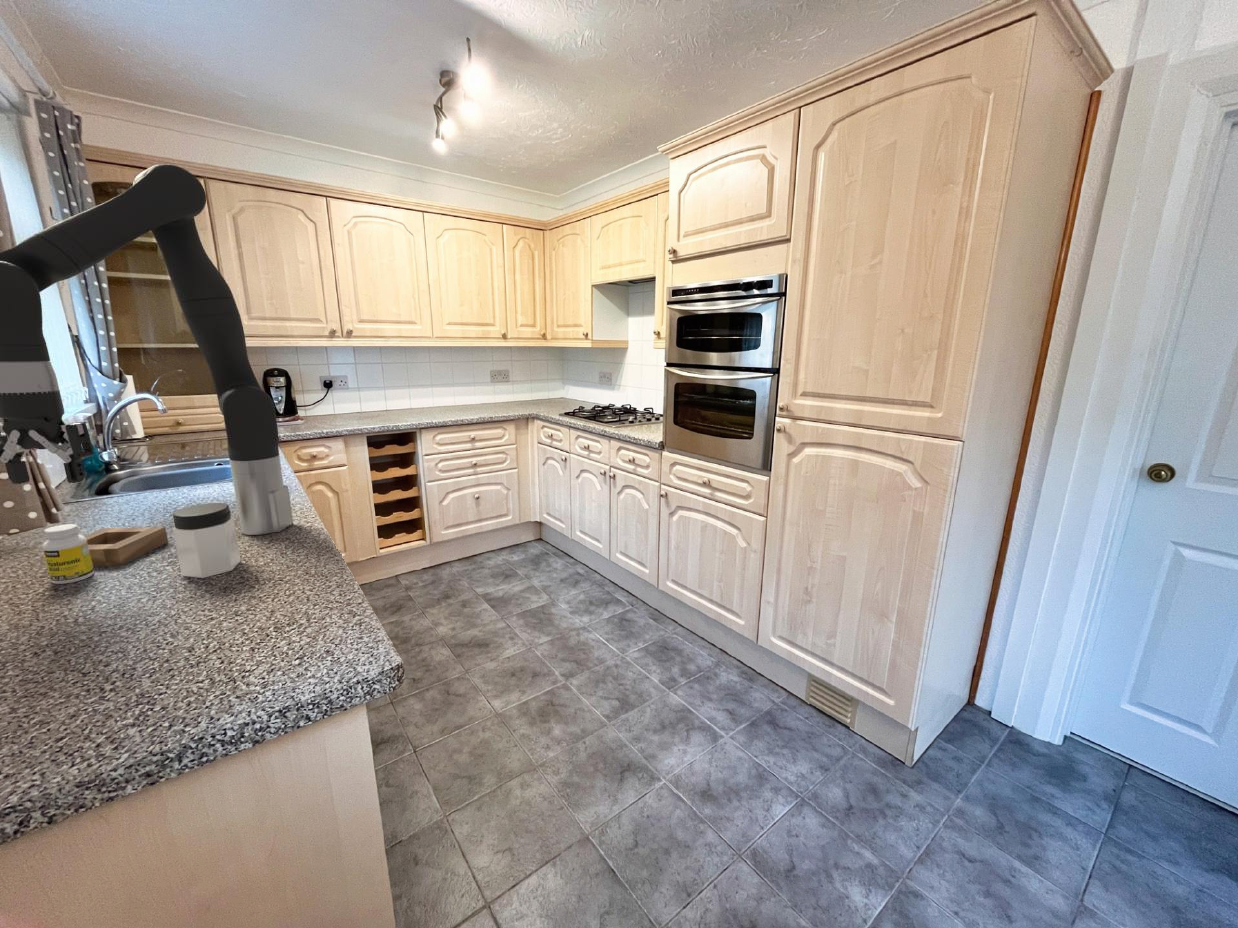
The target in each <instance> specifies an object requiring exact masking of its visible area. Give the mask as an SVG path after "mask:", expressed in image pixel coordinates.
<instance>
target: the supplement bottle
mask: <svg viewBox="0 0 1238 928" xmlns="http://www.w3.org/2000/svg"><path fill="white" fill-rule="evenodd" d="M43 532H44V535H45V537H46V539H47V540H46V541H45V542H44V543H43V544H42V552H43V555H44V558H45V559H44V560H45V564H46V567H47V571H48V575H49V579H50V581H51V583H53V584H56V585H64V584H65V585H66V584H71V583H76V582H79V581H82V580H83V581H84V580H85V579H88V578H90V577H92V576H93V575H94V573H95V569H94V566H93V564H92V560H91V556H90V552H89V547H88V543H87V539H86V538H85V537H84V536H85V535H82V534H79V532H80V531H79V526H78V524H75V523H74V524H73V523H69V524H68V523H67V524H59V525H55V526H51V527H47V528H46V529H44V531H43Z"/></svg>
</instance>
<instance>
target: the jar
mask: <svg viewBox="0 0 1238 928" xmlns="http://www.w3.org/2000/svg"><path fill="white" fill-rule="evenodd" d="M231 515H232V514H231V509H230V505H229V504H227V503H224V502H223V503H222V502H212V503H211V502H210V503H209V502H208V503H201V504H195V505H190V506H186V507H182V508H180V509H178V510H176V511H174V512H173V513H172V517H173V522H174V523H173V524H174V527H173V528H172V533H173V538H174V544H175V548H176V554H177V557H178V558H177V559H178V562H179V567H180V572H181V576H182V577H188V578H198V579H205V578H206V579H207V578H208V577H209V578H210V577H213V576H216V575H220V574H224V573H228V572H231V571H233V570H235V569H234V568H235V567H237V566H238V564H240V562H241V555H240V549H239V543H238V537H237V533H236V526H235V521H234V517H233V516H231Z"/></svg>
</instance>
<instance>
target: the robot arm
mask: <svg viewBox="0 0 1238 928" xmlns="http://www.w3.org/2000/svg"><path fill="white" fill-rule="evenodd" d="M206 204H207V194H206V191H205V188H204V186H203V184H202V182H201V181H200V180H199V179H198V178H197V177H196V176H195V175H194V174H193V173H192V172H190V171H189V170H187V169H185V168H183V167H180V166H178V165H174V164H168V163H167V164H166V163H162V164H154V165H152V166H150V167H148V168H146V169H145V170H143V171H142V172H140V173H139V174H138V175H137V176H136V177H134V180H133V182H132V186H130V187H129V188H127V189H126V190H124V191H123V192H122V193H120V194H118V195H116V196H115V197H112V198H111V199H109V200H106V201H105V202H103V203H101V204H99V205H95V206H94V207H91V208H90V209H87V210H84V211H82V212H80V213H77V214H75V215H72V216H69V217H68V218H66V219H63V220H61V221H59V222H57V223H55V224H52V225H51V226H48V227H47V228H44V229H43V230H41V231H38V232H37V233H35V234H33V235H30V236H29V237H28V238H26V239H24V240H23V241H21V242H20V243H18V244H17V245H15V246H13V247H11V248H8V249H6V250H2V251H0V419H1V420H3V422H0V462H2V464H4V465H5V469H6V472H7V476H8V479H9V480H10V481H11V483H12V484H14V485H20V484H25V483H29V481H30V479H31V478H30V475H29V471H28V467H27V464H26V461H25V460H23V459H24V457H25V456H26V455H27V453H28V452H29V451H31V450H33V449H36V450H47V451H49V452H50V454H55V455H56V456H58V457H59V458H60V459H61V460H62V461H63V463H62V464H63V468H64V472H65V475H66V480H67V482H68V484H76V483H80V482H83V481H84V480H85V477H86V472H85V467H84V464H83V460H84V459H85V458H89V457H93V456H94V455H95V450H94V446H93V444H92V440H91V436H90V434H89V431H88V427H87V424H86V423H85V422H76V423H70V424H66V423H65V422H64V421H63V416H64V414H65V408H64V404H63V400H62V396H61V391H60V388H59V387H60V386H59V383H58V379H57V375H56V372H55V370H54V367H53V366H52V362H51V358H50V354H49V348H48V345H47V342H46V339H45V336H44V331H43V308H42V307H43V305H42V298H41V292H43V291H44V290H46V289H47V288H49V287H51V286H52V285H55V284H57V283H59V282H61V281H65V280H69V279H71V278H73V277H76V276H78V275H80V274H81V273H83V272H85V271H86V270H89V269H90V268H92V267H93V266H95V265H97V264H98V263H100V262H102V261H104V260H105V259H107V258H108V257H110V256H112V255H113V254H114V253H115V254H116V252H118V251H119V250H120V249H122V248H124V247H126V246H127V245H129V244H130V243H131V242H133V241H135V240H136V239H138V238H140V237H142V236H143V235H146V234H147V233H149V232H151V234H152V235H153V237H154V239H155V241H156V243H157V245H158V248H159V251H160V253H161V256H162V258H163V261H164V264H165V267H166V270H167V273H168V276H169V279H170V281H171V284H172V286H173V288H174V293H175V295H176V298H177V301H178V303H179V306H180V309H181V312H182V315H183V316H184V319H185V321H186V324H187V325H188V328H189V330H190V331H191V334H192V336H193V338H194V340H195V343H196V345H197V346H198V348H199V350H200V353H202V356H203V357H204V360H205V361H206V363H207V365H208V368H209V370H210V374H211V377H212V381H213V384H214V388H215V393H216V396H217V401H218V406H219V407H218V408H219V410H220V413H221V414H222V415H223V420H224V427H225V432H226V438H227V440H226V441H227V452H228V458H229V460H228V461H229V465H230V472H231V477H232V483H233V489H234V495H235V501H236V507H237V515H238V519H239V526H240V530H241V533H242V534H243V535H248V536H249V535H250V536H253V535H254V536H258V535H266V534H271V533H272V534H273V533H280V532H282V531H284V530H285V529H286V527H287V528H288V527H289V525H290V526H291V525H293V524H292V523H294V519H293V518H294V517H293V512H292V511H293V510H292V506H291V498H290V491H289V486H288V485H286V484H285V483H284V478H283V472H282V463H281V457H280V450H279V449H280V448H279V447H280V445H279V444H280V438H279V437H280V436H279V430H278V419H277V414H276V407H275V403H274V401H273V398H271V396H270V395H269V394H268V393H267V392H265V391H264V390H263V389H262V388H261V385H260V384H259V381H258V379H257V377H256V375H255V373H254V371H253V368H252V366H251V363H250V360H249V356H248V351H247V343H246V342H247V341H246V336H245V331H244V325H243V321H242V318H241V314H240V311H239V309H238V306H237V303H236V300H235V298H234V297H235V296H234V295H233V292H232V290H231V288H230V285H229V284H228V283H227V281H226V280H225V278H224V277H223V275H222V273H220V271H219V269H218V268H217V267H216V266H215V264H214V263H213V261H212V260H211V259H210V257H209V255H208V254H207V251H206V250H205V248H204V246H203V243H202V241H201V238H200V237H201V236H200V235H199V232H198V229H197V225H196V224H197V223H196V222H195V217H196V216H198V215H200V214H201V213H202V211H203V210H204V209H205V207H206ZM8 437H9V438H8Z"/></svg>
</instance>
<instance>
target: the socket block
mask: <svg viewBox="0 0 1238 928" xmlns="http://www.w3.org/2000/svg"><path fill="white" fill-rule="evenodd" d="M83 536H84V537H85V538H86V539H87V543H88V547H89V552H90V556H91V560H92V564H93V567H116V566H118V567H120V566H123V565H125V564H127V563H130V562H131V561H133V560H135V559H138V558H139V557H141V556H143V555H145V554H147V553H149V552H151V551H153V550H155V549H157V548H159V547H162V546H163V545H165V544H167V543H169V540H168V539H169V538H168V535H167V529H166V526H147V527H146V526H144V527H140V526H139V527H107V528H106V527H105V528H100V529H99V530H95V531H93V532H91V533H87V534H85V535H83Z"/></svg>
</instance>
